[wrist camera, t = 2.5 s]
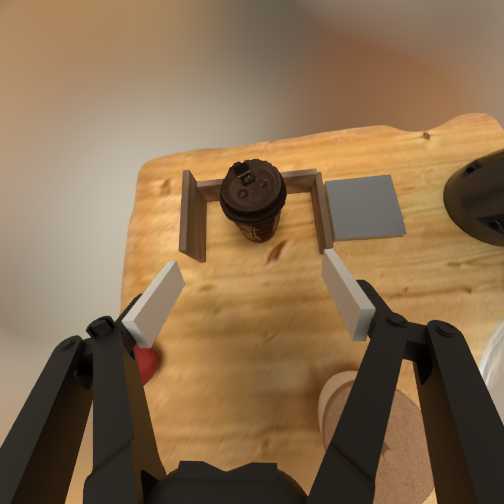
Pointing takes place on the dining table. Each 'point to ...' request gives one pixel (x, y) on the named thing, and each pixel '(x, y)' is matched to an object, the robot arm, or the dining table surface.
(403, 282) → the dining table surface
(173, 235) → the dining table surface
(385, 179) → the slate pad
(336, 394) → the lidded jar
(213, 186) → the u-shaped wooden frame
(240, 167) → the coffee cup
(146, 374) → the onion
